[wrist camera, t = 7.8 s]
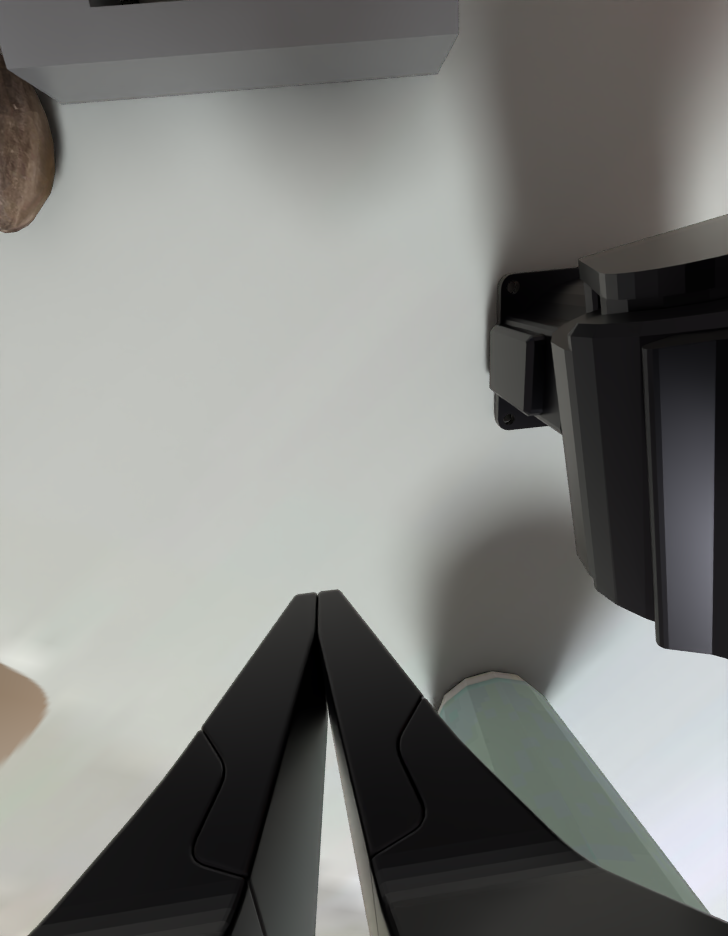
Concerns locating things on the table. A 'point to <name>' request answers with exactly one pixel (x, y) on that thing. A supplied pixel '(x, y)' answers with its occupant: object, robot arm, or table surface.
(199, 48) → the button panel
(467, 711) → the disposable coffee cup
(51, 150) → the brown mug
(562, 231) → the table surface
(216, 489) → the table surface
